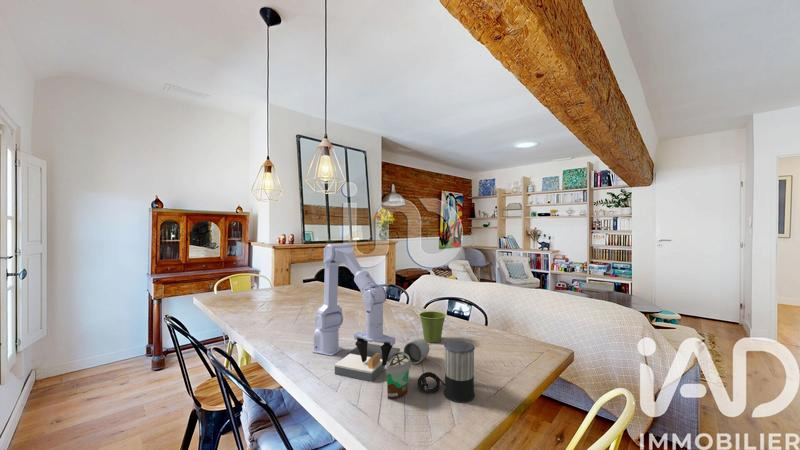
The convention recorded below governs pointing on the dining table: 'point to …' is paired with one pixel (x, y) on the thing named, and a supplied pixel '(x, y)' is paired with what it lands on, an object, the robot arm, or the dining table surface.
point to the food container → (398, 375)
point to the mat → (374, 351)
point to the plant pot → (432, 325)
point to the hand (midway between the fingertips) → (374, 362)
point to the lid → (360, 363)
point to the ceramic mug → (416, 350)
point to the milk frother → (454, 372)
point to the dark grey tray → (359, 373)
